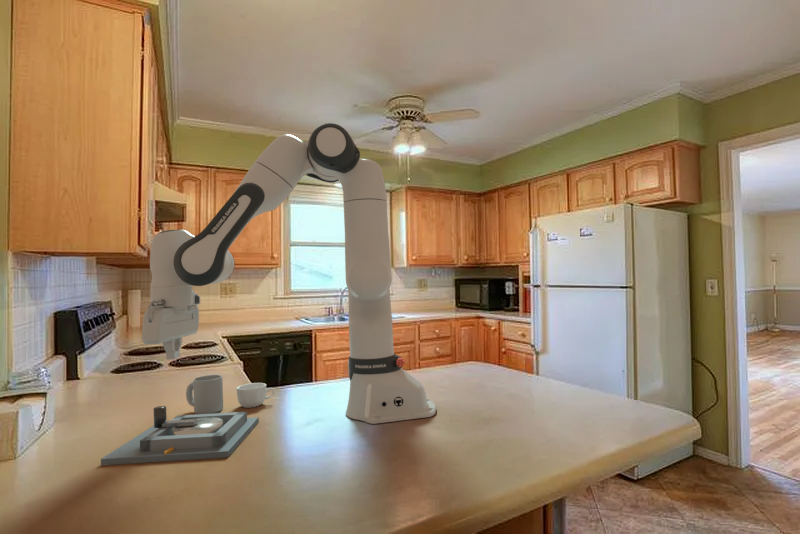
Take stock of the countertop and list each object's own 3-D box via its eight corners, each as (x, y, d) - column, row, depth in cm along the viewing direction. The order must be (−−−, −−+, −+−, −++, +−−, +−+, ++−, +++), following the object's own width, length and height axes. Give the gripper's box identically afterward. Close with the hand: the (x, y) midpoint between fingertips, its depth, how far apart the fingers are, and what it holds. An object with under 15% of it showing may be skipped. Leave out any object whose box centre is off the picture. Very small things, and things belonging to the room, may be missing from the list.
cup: (213, 415, 112) (212, 380, 112) (178, 415, 113) (177, 381, 114) (228, 407, 119) (227, 374, 120) (195, 407, 121) (194, 375, 121)
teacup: (234, 411, 115) (233, 390, 116) (240, 403, 123) (239, 384, 123) (273, 407, 117) (272, 387, 117) (276, 400, 125) (275, 381, 125)
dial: (229, 425, 99) (228, 397, 99) (212, 441, 89) (211, 410, 89) (166, 428, 98) (165, 401, 99) (142, 445, 88) (141, 414, 89)
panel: (258, 422, 105) (258, 407, 105) (228, 457, 84) (227, 439, 84) (157, 428, 104) (157, 413, 104) (100, 465, 83) (100, 447, 83)
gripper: (163, 300, 91) (164, 366, 91) (203, 297, 112) (204, 350, 111) (132, 301, 91) (133, 367, 90) (178, 298, 111) (179, 351, 111)
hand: (173, 358), depth 101 cm, fingers closed
